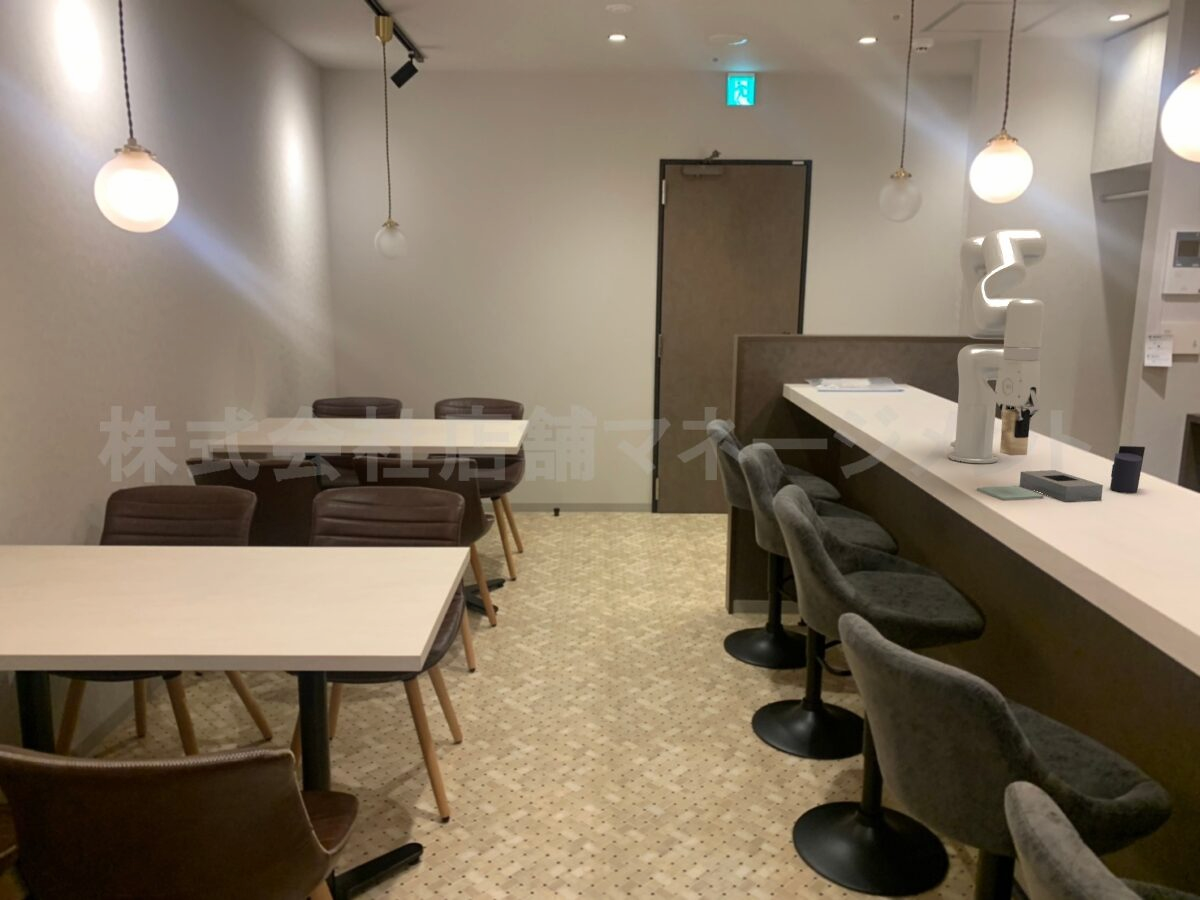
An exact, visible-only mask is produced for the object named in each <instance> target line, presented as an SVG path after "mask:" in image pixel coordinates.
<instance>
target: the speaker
mask: <svg viewBox="0 0 1200 900" xmlns="http://www.w3.org/2000/svg"><path fill="white" fill-rule="evenodd" d="M1118 447H1119V448H1118V452H1117V453H1115V454H1114V461H1113V464H1112V469H1111V473H1110V478H1111V479H1110V486H1109V489H1111V490H1113V491H1115V492H1118V491H1120V492H1119V493H1123V492H1126V493H1125V494H1135V493H1137V492H1138V489H1139V485H1140V478H1141V472H1142V466H1143V463H1144V462H1143V460H1144V455H1145V449H1146V447H1145V446H1131V445H1119V446H1118Z"/></svg>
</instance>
